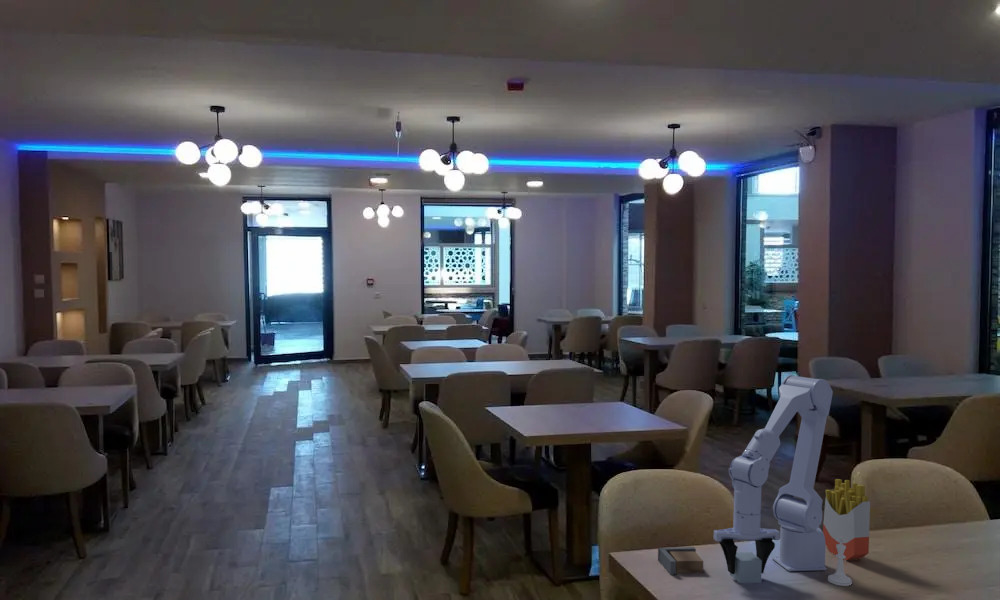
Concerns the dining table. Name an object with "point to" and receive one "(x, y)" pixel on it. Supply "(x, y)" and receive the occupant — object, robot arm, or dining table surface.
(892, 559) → the dining table surface
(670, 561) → the corner jig
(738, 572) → the blue-grey cube
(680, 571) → the walnut block
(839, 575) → the chess piece
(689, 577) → the dining table surface
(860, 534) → the french fries container
